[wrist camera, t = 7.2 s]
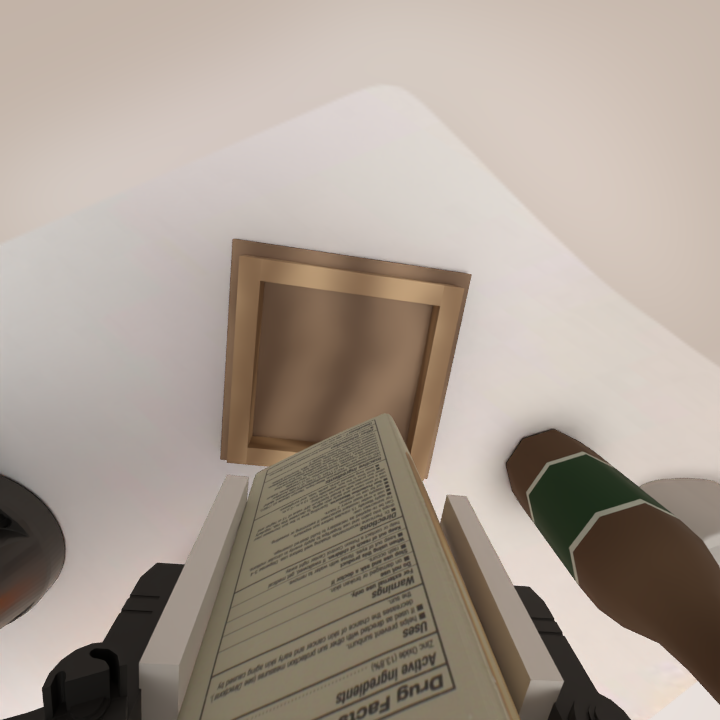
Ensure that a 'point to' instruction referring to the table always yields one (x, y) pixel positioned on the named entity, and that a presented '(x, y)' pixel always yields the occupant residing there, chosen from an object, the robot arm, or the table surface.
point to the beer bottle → (623, 549)
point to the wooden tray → (334, 350)
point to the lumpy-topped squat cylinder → (692, 506)
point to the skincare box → (344, 599)
